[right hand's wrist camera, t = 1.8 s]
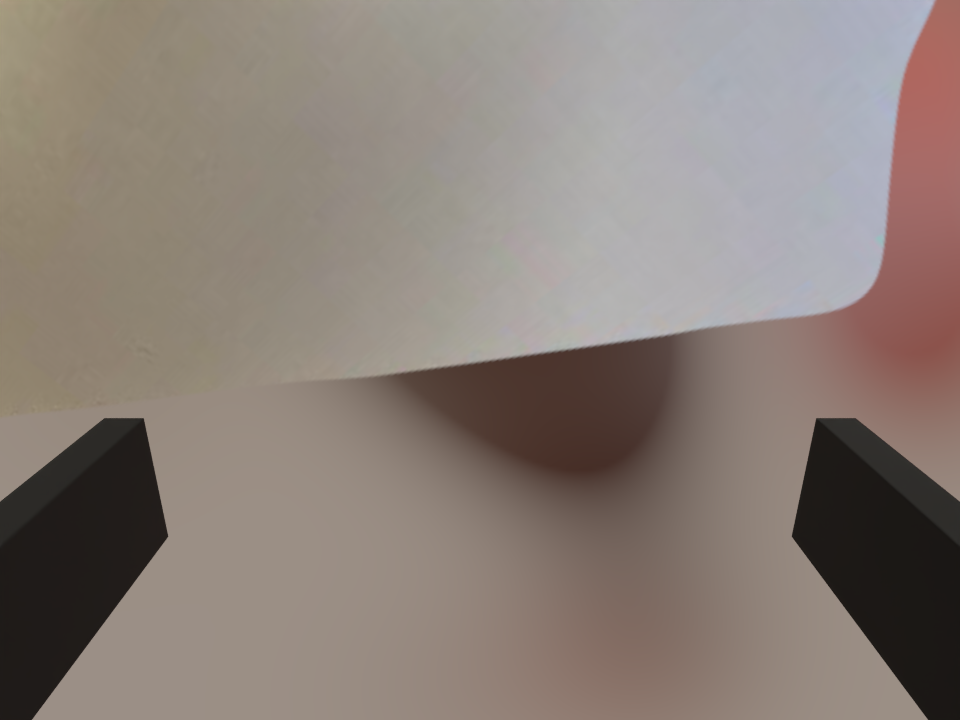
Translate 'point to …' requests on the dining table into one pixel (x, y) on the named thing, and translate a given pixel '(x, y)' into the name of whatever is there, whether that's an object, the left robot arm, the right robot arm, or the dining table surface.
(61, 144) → the dining table surface
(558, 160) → the dining table surface
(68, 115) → the dining table surface
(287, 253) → the dining table surface
